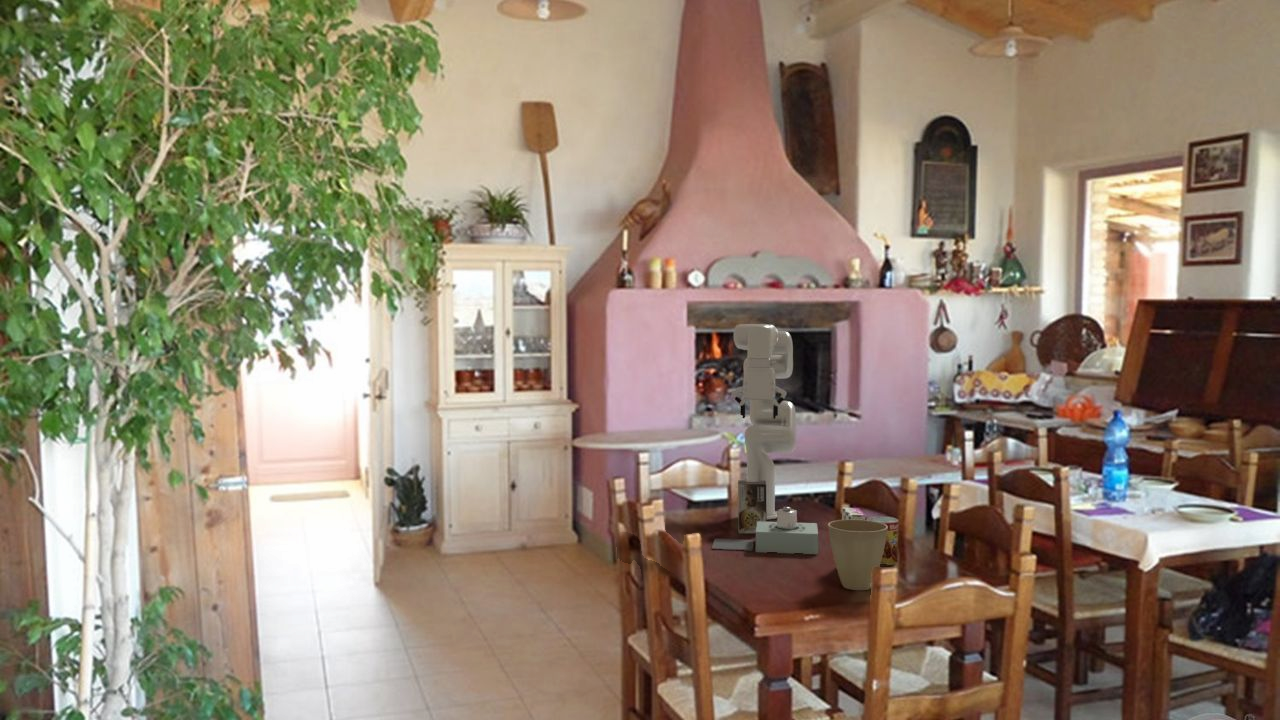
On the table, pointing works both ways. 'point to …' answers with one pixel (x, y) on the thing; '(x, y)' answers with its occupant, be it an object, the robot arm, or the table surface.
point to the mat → (733, 544)
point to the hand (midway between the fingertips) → (759, 417)
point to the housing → (787, 538)
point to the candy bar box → (853, 514)
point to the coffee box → (751, 504)
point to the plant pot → (857, 550)
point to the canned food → (889, 539)
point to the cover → (786, 519)
